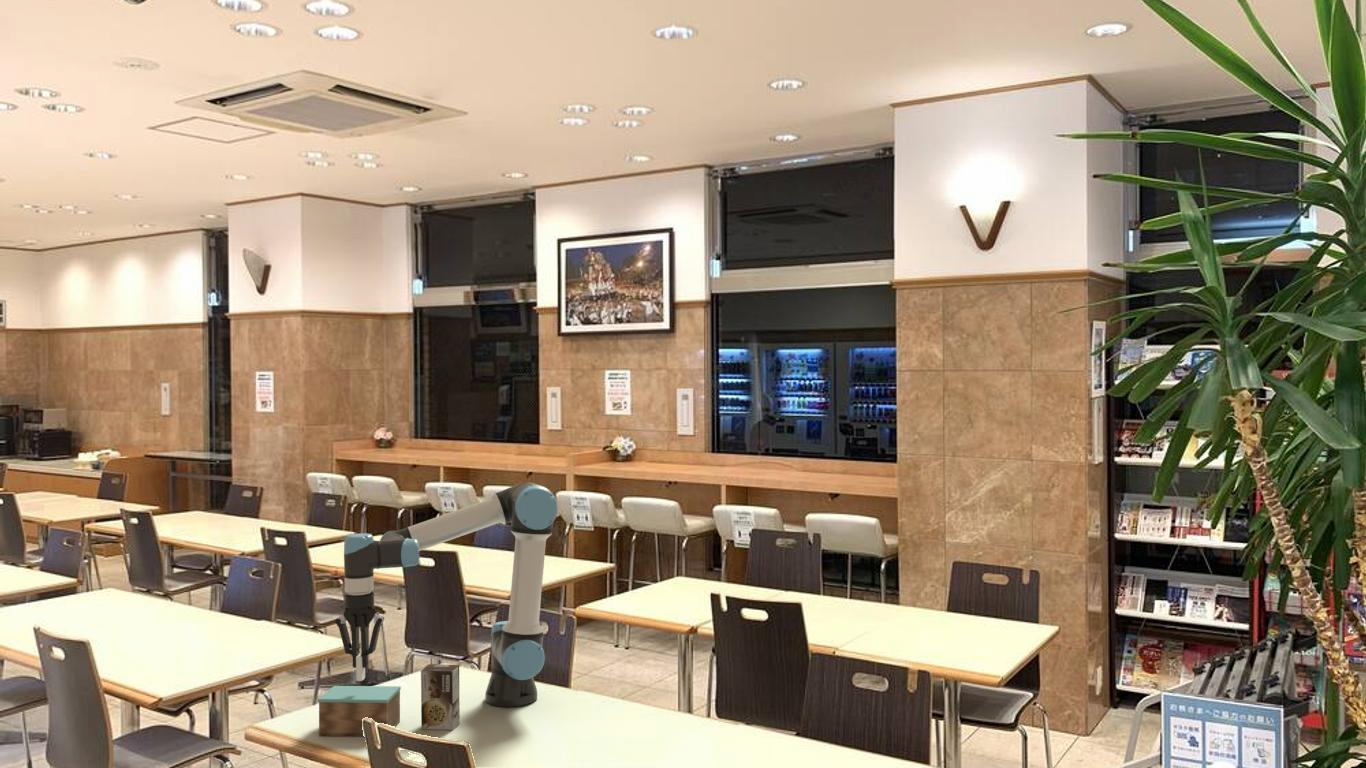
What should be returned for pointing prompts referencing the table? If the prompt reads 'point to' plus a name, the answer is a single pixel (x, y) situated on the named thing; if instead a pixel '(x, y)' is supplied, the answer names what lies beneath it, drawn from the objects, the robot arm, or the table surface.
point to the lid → (360, 694)
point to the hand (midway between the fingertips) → (360, 679)
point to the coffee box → (440, 697)
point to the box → (355, 716)
